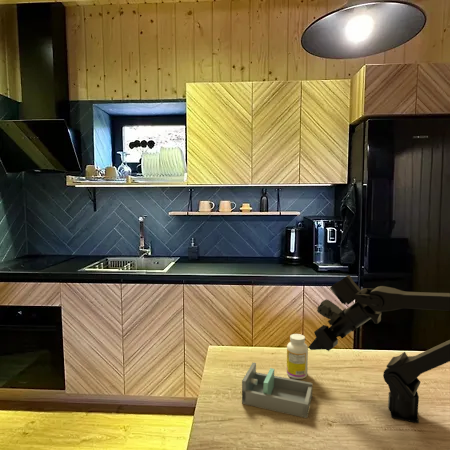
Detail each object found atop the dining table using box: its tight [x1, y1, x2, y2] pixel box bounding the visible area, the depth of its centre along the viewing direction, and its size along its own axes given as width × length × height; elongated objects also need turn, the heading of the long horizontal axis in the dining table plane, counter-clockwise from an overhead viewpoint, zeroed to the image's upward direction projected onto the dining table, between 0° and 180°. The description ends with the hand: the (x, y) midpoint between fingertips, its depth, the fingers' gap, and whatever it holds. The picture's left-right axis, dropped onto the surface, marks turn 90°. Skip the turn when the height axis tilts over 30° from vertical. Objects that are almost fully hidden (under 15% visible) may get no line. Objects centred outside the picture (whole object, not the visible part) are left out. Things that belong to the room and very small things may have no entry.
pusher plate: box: [263, 367, 275, 395], centre depth 101 cm, size 1×8×6 cm, turn 159°
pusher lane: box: [241, 362, 313, 419], centre depth 101 cm, size 18×11×7 cm, turn 70°
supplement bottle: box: [286, 333, 309, 380], centre depth 114 cm, size 7×7×13 cm
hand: (316, 343), depth 109 cm, fingers open, 9 cm apart
